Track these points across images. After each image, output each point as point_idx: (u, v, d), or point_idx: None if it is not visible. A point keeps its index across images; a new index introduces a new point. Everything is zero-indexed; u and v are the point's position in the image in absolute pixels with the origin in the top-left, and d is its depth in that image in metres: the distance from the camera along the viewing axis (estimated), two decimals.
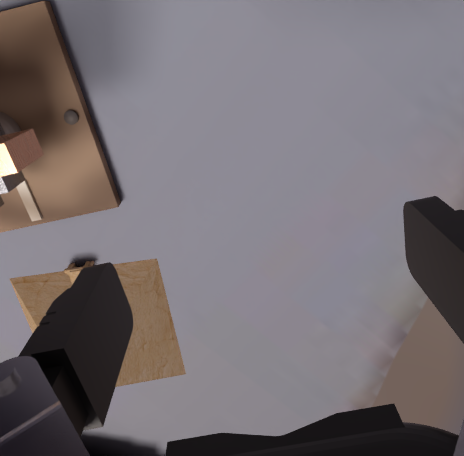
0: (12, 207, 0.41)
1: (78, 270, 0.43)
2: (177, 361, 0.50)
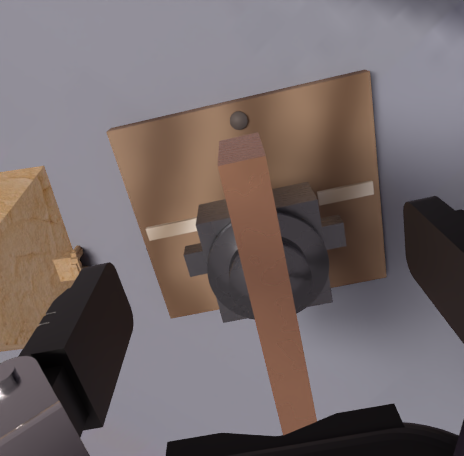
0: (162, 205, 0.32)
1: None
2: None
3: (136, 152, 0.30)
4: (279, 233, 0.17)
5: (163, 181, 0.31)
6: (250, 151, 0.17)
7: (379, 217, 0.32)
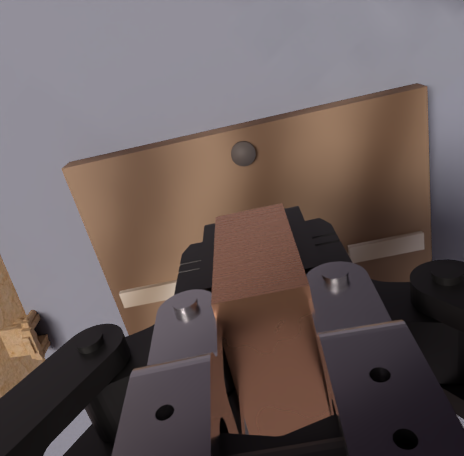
0: (140, 264, 0.24)
1: (34, 349, 0.25)
2: None
3: (103, 196, 0.22)
4: None
5: (141, 232, 0.23)
6: (275, 262, 0.09)
7: None
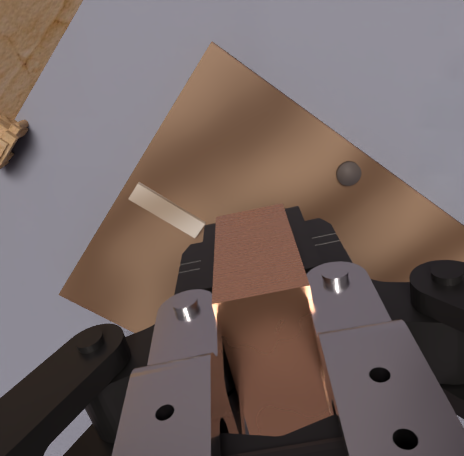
0: (181, 177, 0.22)
1: None
2: None
3: (217, 97, 0.20)
4: None
5: (211, 154, 0.21)
6: (276, 262, 0.09)
7: None
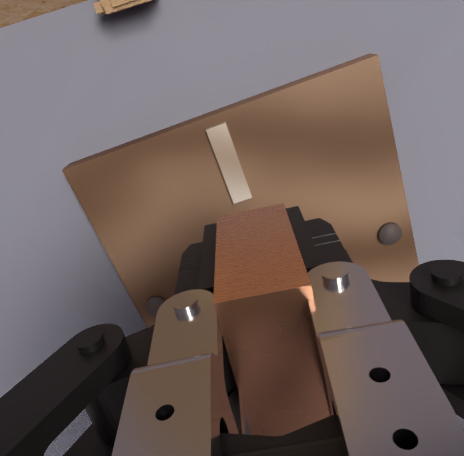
0: (264, 144, 0.21)
1: (119, 5, 0.18)
2: None
3: (346, 102, 0.20)
4: None
5: (303, 143, 0.21)
6: (277, 261, 0.09)
7: None
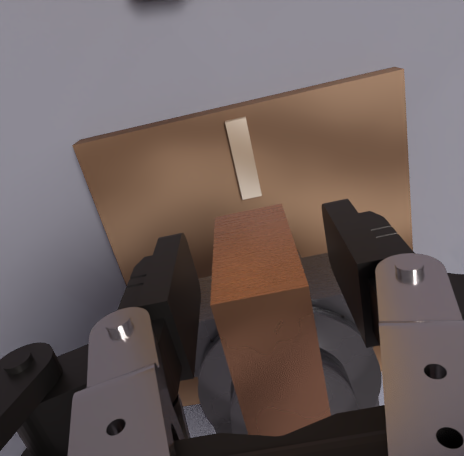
0: (280, 144, 0.21)
1: None
2: None
3: (366, 111, 0.20)
4: (328, 414, 0.09)
5: (319, 147, 0.21)
6: (274, 262, 0.09)
7: None
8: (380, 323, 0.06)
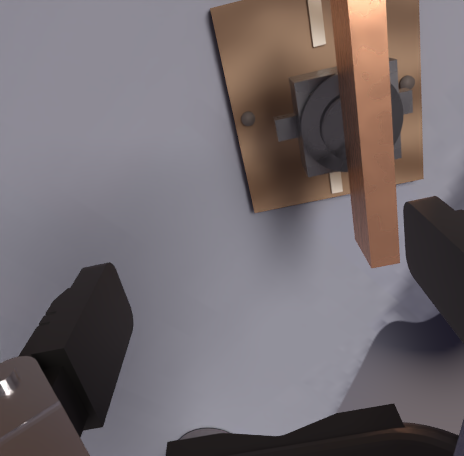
0: None
1: None
2: None
3: None
4: (387, 51, 0.22)
5: None
6: None
7: (310, 200, 0.41)
8: None
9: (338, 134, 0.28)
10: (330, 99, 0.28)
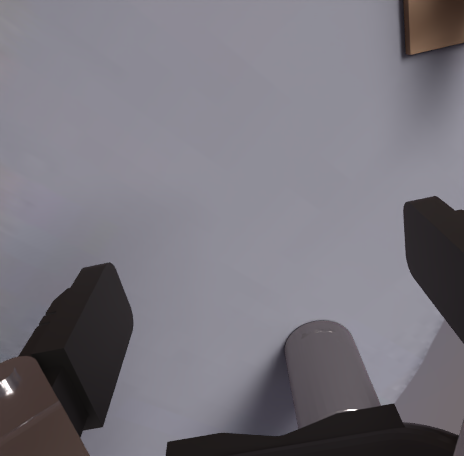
0: None
1: None
2: None
3: None
4: None
5: None
6: None
7: None
8: None
9: None
10: None
